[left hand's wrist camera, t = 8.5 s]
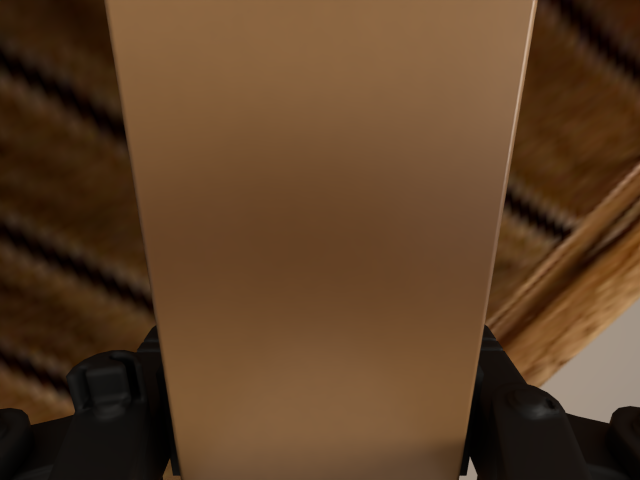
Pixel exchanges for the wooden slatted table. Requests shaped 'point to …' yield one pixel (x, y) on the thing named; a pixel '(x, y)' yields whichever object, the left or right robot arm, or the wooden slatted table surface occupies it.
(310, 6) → the bar
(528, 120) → the wooden slatted table surface
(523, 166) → the wooden slatted table surface
